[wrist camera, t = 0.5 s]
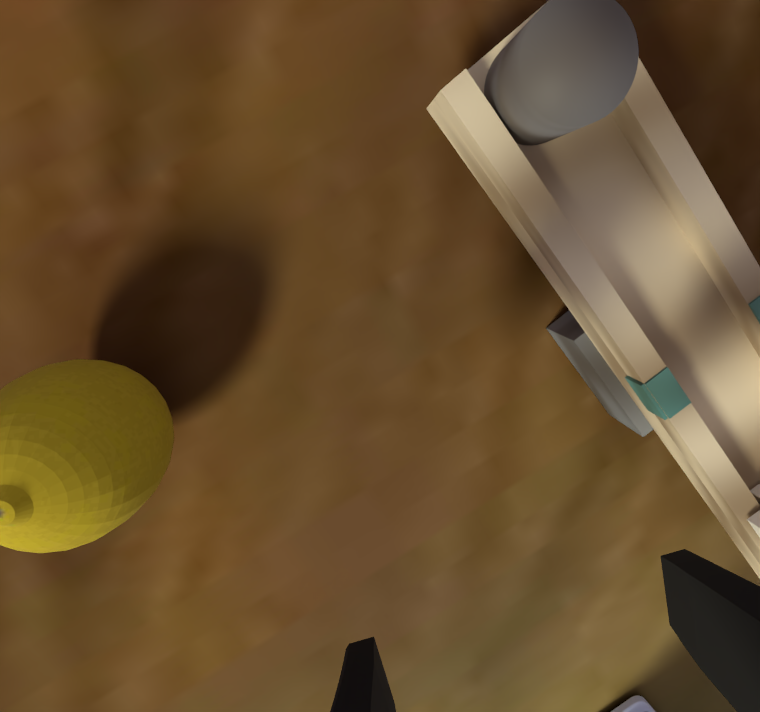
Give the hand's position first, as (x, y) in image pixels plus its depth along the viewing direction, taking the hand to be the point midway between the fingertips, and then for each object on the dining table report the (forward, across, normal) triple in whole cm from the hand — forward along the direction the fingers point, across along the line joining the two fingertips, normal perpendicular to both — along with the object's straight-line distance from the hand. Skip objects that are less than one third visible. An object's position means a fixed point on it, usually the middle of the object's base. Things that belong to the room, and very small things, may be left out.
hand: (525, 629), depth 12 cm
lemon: (+10, +12, -6) cm, 17 cm away
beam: (+10, -9, -3) cm, 14 cm away
